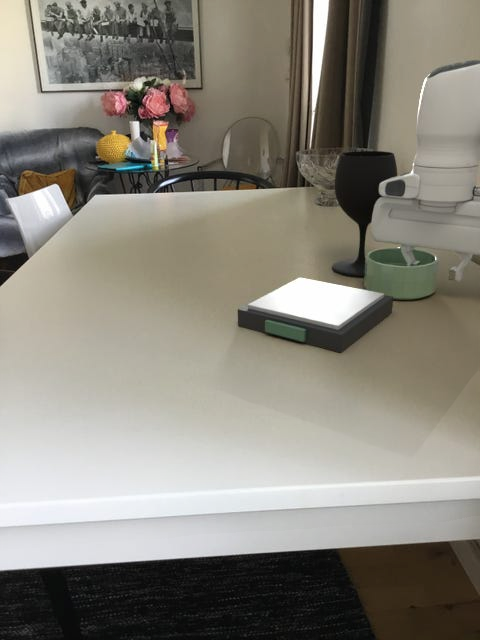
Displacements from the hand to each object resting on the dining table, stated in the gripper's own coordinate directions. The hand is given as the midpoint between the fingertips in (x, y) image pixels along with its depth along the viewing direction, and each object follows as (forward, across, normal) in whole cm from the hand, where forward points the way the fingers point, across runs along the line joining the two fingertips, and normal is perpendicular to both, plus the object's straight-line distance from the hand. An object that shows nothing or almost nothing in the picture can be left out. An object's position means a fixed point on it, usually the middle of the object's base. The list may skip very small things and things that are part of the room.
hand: (433, 276), depth 87 cm
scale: (+3, +10, +18) cm, 21 cm away
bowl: (+3, +5, 0) cm, 6 cm away
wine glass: (+3, +15, -7) cm, 17 cm away
